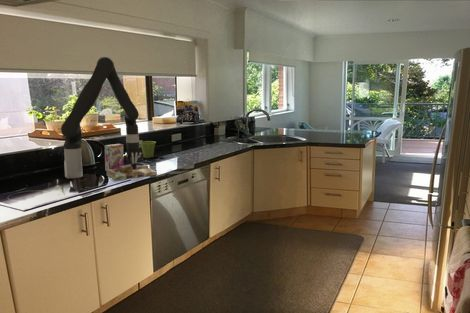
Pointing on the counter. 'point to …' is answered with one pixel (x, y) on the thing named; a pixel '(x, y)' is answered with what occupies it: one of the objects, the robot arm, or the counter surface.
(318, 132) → the counter surface
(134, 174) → the box
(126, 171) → the walnut block
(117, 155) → the candy bar box
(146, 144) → the plant pot
